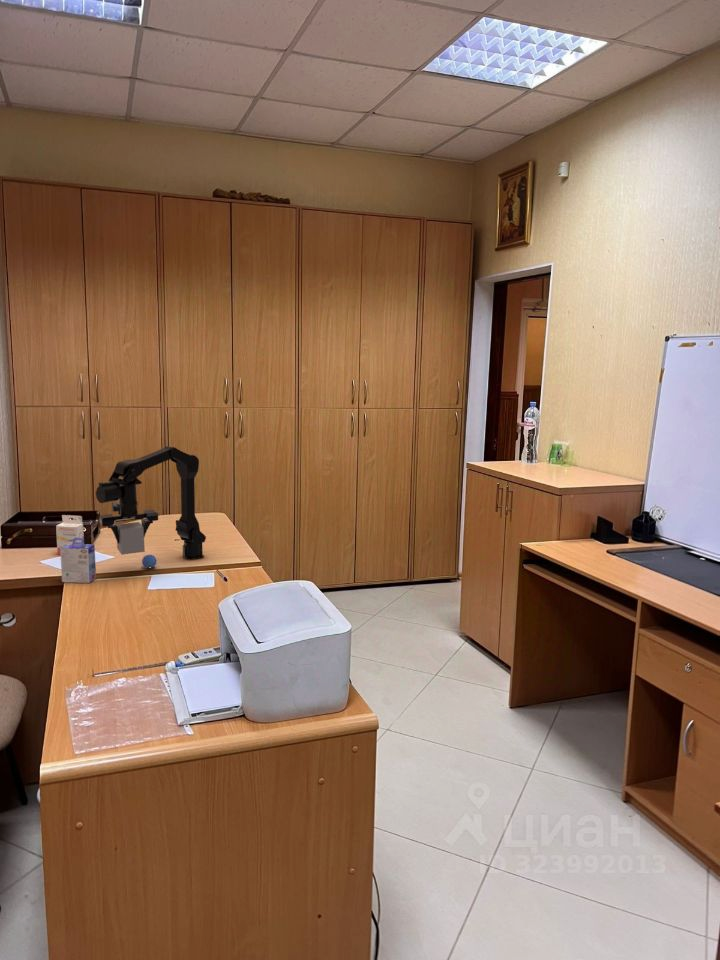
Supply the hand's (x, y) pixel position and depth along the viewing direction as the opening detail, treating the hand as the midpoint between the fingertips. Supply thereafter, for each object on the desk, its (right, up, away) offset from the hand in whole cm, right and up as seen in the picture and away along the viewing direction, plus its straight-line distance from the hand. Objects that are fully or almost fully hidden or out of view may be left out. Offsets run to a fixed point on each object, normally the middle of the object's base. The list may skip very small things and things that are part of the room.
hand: (130, 541), depth 237 cm
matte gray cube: (0, -3, +1) cm, 3 cm away
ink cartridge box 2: (-15, -13, -5) cm, 21 cm away
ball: (+4, -8, +8) cm, 12 cm away
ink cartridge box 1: (-30, -7, +22) cm, 38 cm away
